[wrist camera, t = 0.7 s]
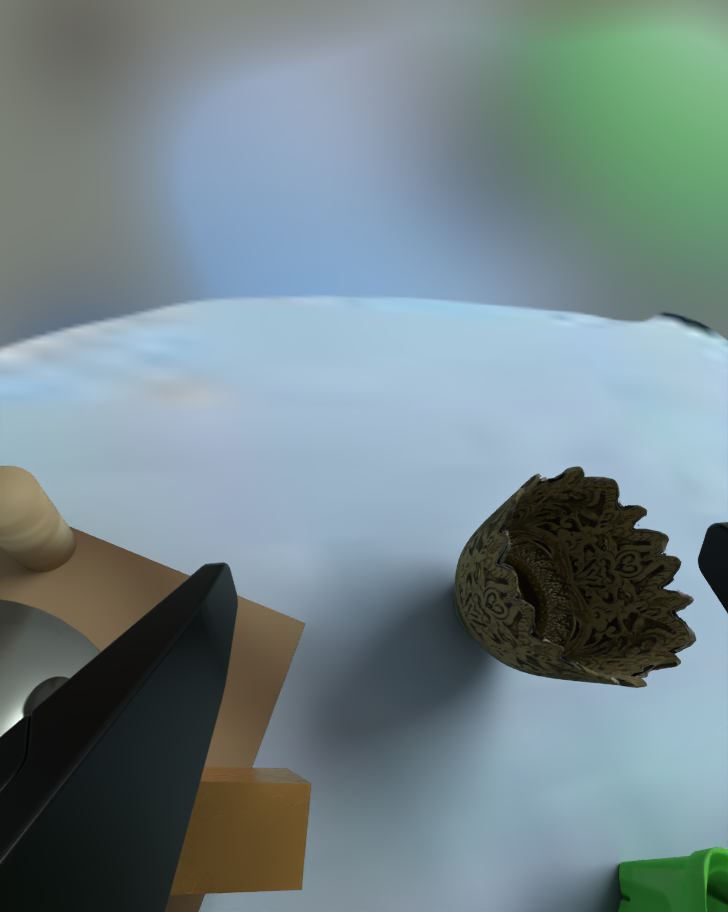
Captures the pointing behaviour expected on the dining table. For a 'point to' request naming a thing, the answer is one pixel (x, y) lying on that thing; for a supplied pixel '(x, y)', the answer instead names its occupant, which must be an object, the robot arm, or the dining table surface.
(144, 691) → the robot arm
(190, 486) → the dining table surface
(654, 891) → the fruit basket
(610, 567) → the cup
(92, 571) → the post board
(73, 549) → the dowel pin
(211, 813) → the flange plate
